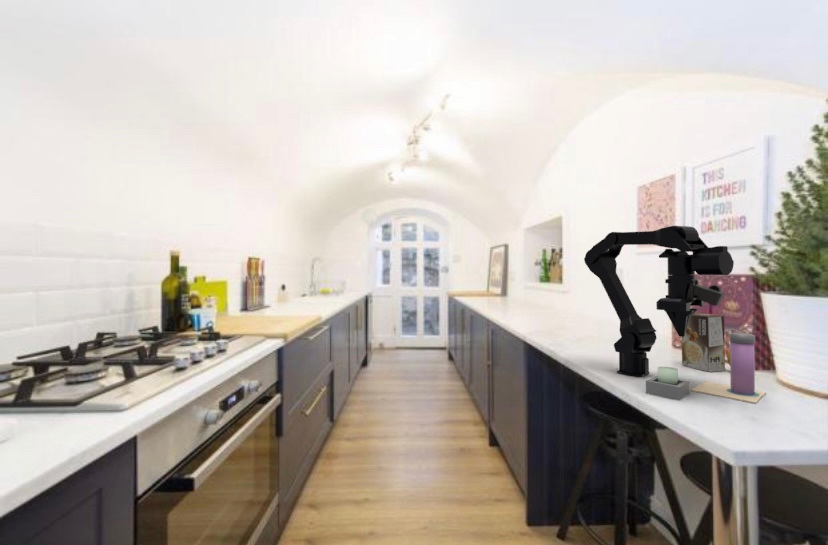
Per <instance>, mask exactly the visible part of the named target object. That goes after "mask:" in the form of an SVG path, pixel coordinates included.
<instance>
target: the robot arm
mask: <svg viewBox="0 0 828 545" xmlns="http://www.w3.org/2000/svg"><path fill="white" fill-rule="evenodd" d="M627 245H628V246H629V245H630V246H631V245H632V246H634V245H635V246H636V245H639V246H641V245H643V246H644V245H649V246H650V245H652V246H658V247H662V248H666V249H664V251H663V252H662V253H660V254H659V255H658V258H660V259H661V258H662V259H667V278H665V283H664V284H667V294H666V295H665V297H661V298H660V299H658V300H657V301H656V310H657V311H664V312H665V313H666V315H667V317H668V318H669V320H670V321H671V324H672V325H673V327H674V330H675V331H676V333H677V336H679V337H681V338H682V337H684V336H685V333H686V330H687V327H688V323H689V320H690V317H691V315H692V314H693V313H697V312H698V311H699V309H700V308H693V306H696V307H697V306H698V307H701V308H702V307H705V305H706V304H705V303H707V304H708V305H711V306H713V307H714V306H715V307H718V306H720V305H721V302H722V300H723V299H724V297H725V292H724V291H722V287H721V286H719V285H715V284H712V285H711V286H709V287H708V286H704V285H700V284H699V280H698V278H696V274H697V275H699V276H729V275H731V273H732V271H733V269H734V265H735V263H734V262H735V261H734V260H733V258H732V254H731V253H730V252H729V250H728V248H729V247H728V246H726V245H718V246H711V247H709V246H708V245H707V244H706V243H705V242H704V241H703V240H702V239H701V237H700V234H699V231H698V230H697V229H696V228H695V227H693V226H689V225H687V226H686V225H670V226H665V227H661V228H659V229H656V230H651V231H647V230H646V231H644V230H643V231H625V232H624V231H623V232H621V231H612V232H610V233H608V234H607V235H606V236H604V238H603V239H601V240H600V241H599V242H597V243H595V244H594V245H593V246H592V247H591V248H590V249H589V250H588V251H586V253H585V256H584V259H583V260H584V263H585V265H586V267H587V268H588V269H589V271H590V272H591V273H592V274H594V275H595V276H596V277H597V278H599V280H600V282H601V285H602V287H603V288H604V290H605V292H606V295H607V296H608V299H609V302H610V303H611V305H612V307H613V308H614V310H615V313H616V315H617V316H618V319H619V321H620V322H619V334H620V338H619V339H618V340H617V341H615V343H614V344H613V348H614V352H617V353H618V359H619V360H618V364H619V368H618V370H616V373H618V374H623V375H627V376H633V377H638V378H641V377H644V376H646V375H649V374H650V370H649V369H650V368H649V366H650V364H649V362H650V361H649V360H650V359H649V358H648V357H647V356H648V355H647V353H649V352H651V350H652V348H653V346H654V345H655V344H656V340H657V335H656V332H657V329H655V328H654V326H653V324H652V321H651V320H650V318H648V317H647V318H642V317H641V316H640V315H639V314H638V313H637V310H636V308H635V307H634V305H633V303H632V300H631V299H630V297H629V295H628V292H627V291H626V289H625V287H624V285H623V283H622V281H621V279H620V278H619V276H618V273H617V264H618V263H617V261H616V259H617V258H618V256H619V255H620V254H621V251H622V249H623V247H624V246H627ZM674 249H677V250H674ZM689 252H692V254H689Z"/></svg>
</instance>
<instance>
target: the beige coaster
mask: <svg viewBox="0 0 828 545" xmlns="http://www.w3.org/2000/svg"><path fill="white" fill-rule="evenodd" d="M690 392H695V393H698V394H705V395H710V396H714V397H719V398H725V399H730V400H735V401H740V402H746V403H750V404H757V403H758V402H759V401H761V400H762V398H763V397H764V396H765V395H766V394H767V391H761V390H756V389H755V395H741V394H736V393H733V392H731V385H728V384H722V383H716V382H711V381H703V382H702V383H700V384H698V385H696V387H693V388H692V389H691V390H690Z"/></svg>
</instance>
